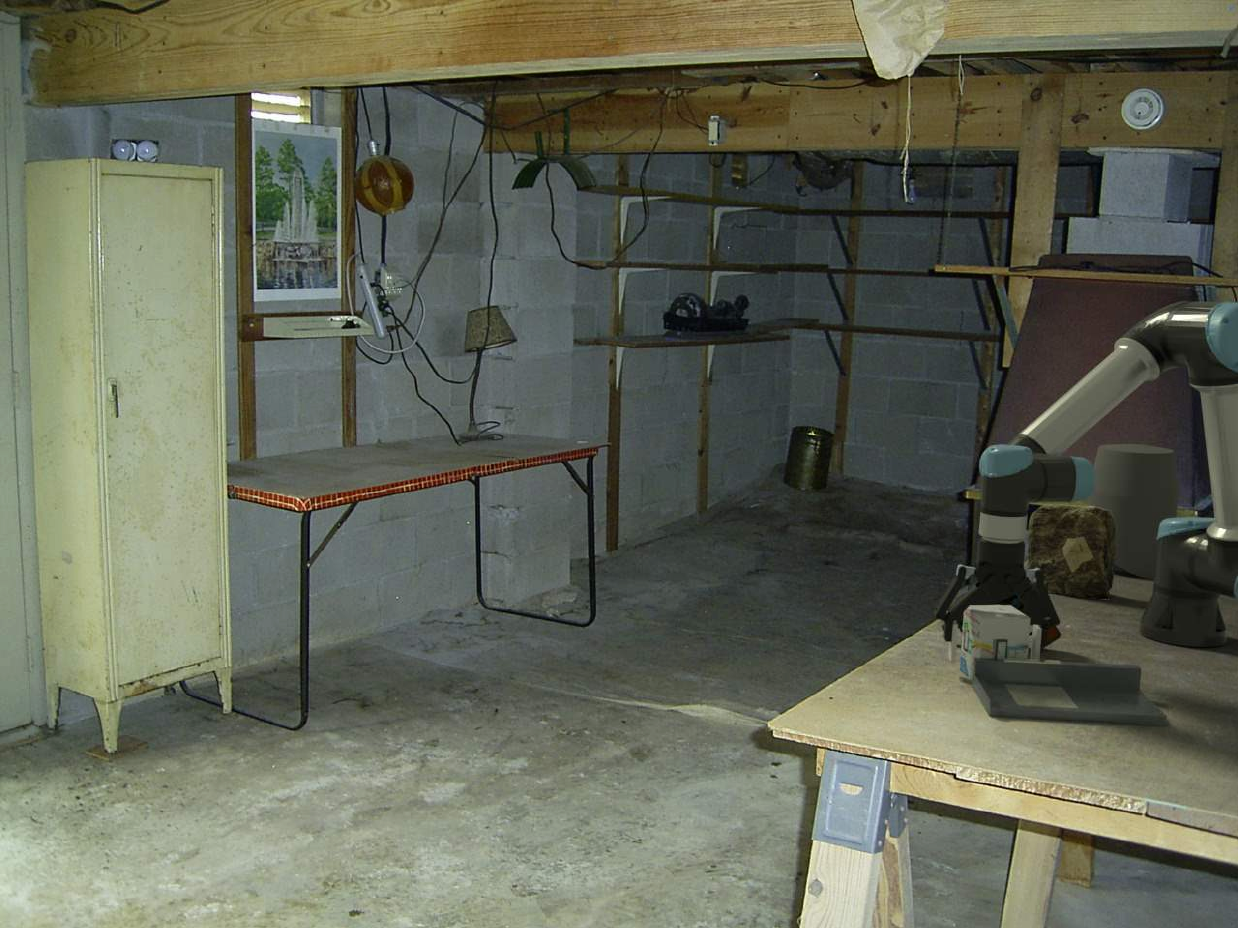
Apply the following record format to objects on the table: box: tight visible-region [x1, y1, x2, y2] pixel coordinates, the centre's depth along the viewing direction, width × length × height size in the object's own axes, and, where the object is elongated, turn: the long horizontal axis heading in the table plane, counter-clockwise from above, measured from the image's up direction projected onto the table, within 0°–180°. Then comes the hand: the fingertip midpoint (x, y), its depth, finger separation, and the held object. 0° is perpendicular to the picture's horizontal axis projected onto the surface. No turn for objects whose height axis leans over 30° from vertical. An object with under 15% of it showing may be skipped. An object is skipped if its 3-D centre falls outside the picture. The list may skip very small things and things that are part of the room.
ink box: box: [959, 605, 1031, 680], centre depth 204 cm, size 8×8×12 cm
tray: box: [971, 658, 1168, 727], centre depth 191 cm, size 26×14×5 cm, turn 85°
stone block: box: [1025, 503, 1116, 601], centre depth 264 cm, size 18×9×20 cm, turn 68°
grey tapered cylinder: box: [1085, 443, 1180, 579], centre depth 289 cm, size 20×20×30 cm
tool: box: [940, 577, 1062, 651], centre depth 222 cm, size 6×19×15 cm
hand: (992, 662), depth 204 cm, fingers open, 13 cm apart
